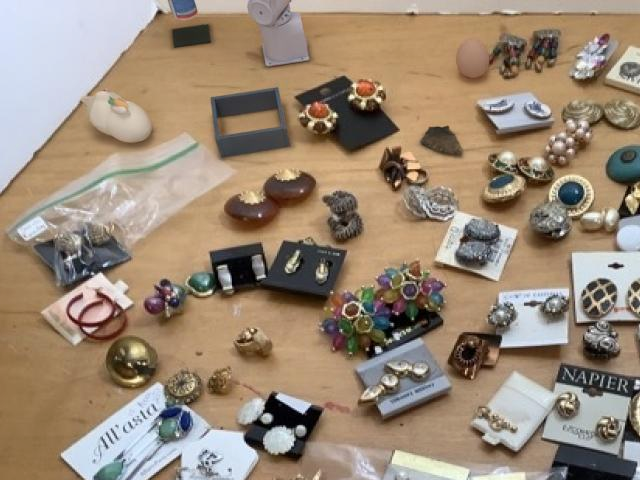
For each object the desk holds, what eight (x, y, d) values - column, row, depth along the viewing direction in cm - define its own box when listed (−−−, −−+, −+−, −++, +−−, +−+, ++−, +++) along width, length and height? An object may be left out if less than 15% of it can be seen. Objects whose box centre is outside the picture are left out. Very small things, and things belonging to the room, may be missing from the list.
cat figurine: (143, 102, 154) (79, 72, 156) (124, 140, 154) (60, 110, 156) (169, 121, 163) (109, 93, 166) (151, 157, 163) (91, 128, 166)
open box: (282, 105, 169) (278, 86, 165) (290, 146, 161) (286, 127, 158) (216, 115, 167) (210, 97, 163) (221, 157, 159) (215, 139, 156)
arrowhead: (460, 160, 160) (460, 154, 158) (416, 145, 162) (416, 140, 161) (476, 139, 163) (476, 134, 162) (433, 125, 166) (433, 120, 165)
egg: (463, 62, 179) (463, 27, 172) (494, 69, 177) (494, 34, 170) (451, 80, 175) (450, 45, 168) (482, 88, 173) (482, 53, 167)
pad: (208, 25, 186) (208, 24, 185) (210, 42, 182) (210, 41, 182) (172, 30, 184) (172, 29, 184) (174, 47, 181) (173, 46, 180)
